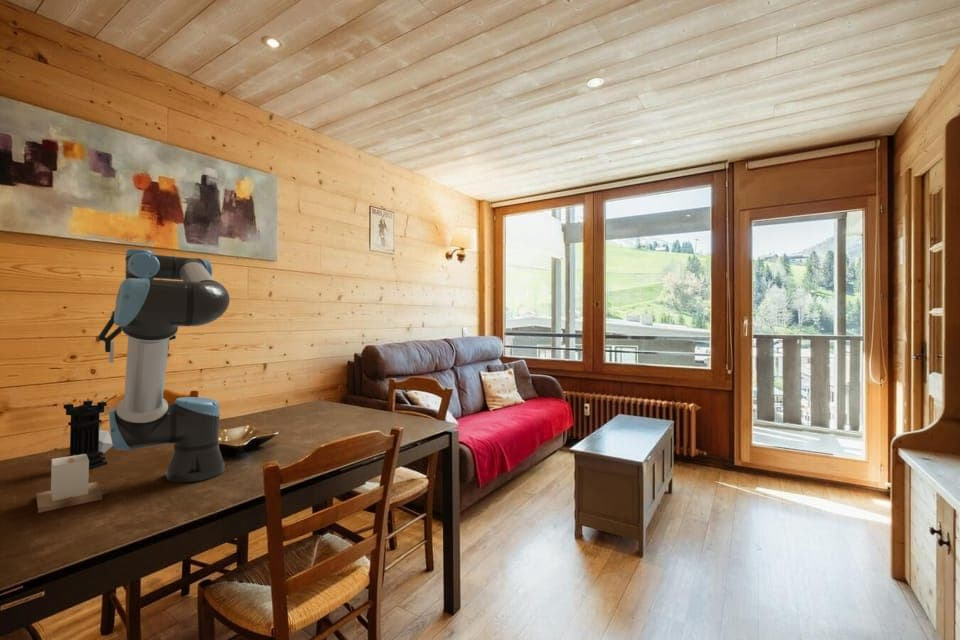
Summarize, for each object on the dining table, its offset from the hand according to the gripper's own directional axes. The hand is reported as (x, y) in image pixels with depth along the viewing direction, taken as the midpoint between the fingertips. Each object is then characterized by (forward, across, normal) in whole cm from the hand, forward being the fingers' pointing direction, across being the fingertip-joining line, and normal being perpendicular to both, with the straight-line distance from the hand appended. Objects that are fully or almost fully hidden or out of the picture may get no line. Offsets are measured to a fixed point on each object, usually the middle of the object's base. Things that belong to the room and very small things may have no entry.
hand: (137, 361), depth 146 cm
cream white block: (+31, +18, +24) cm, 44 cm away
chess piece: (+33, +12, -3) cm, 35 cm away
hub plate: (+33, +18, +25) cm, 45 cm away
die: (+33, +8, -15) cm, 37 cm away
